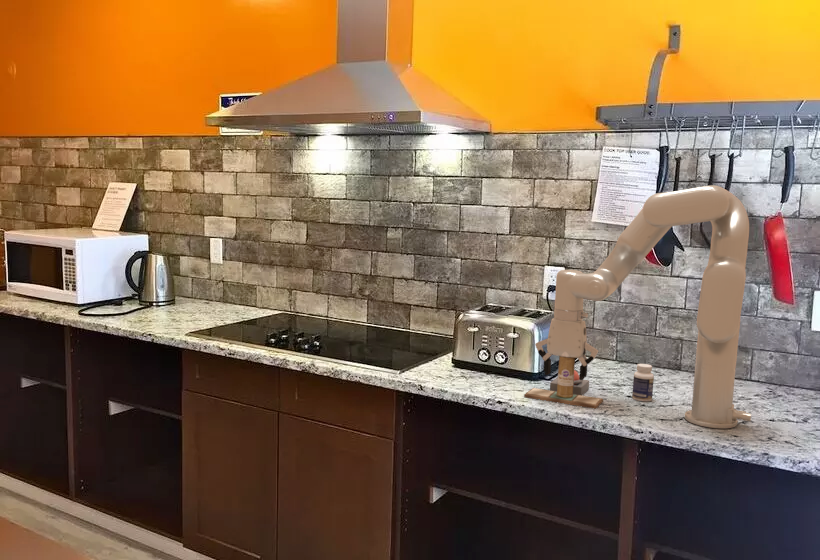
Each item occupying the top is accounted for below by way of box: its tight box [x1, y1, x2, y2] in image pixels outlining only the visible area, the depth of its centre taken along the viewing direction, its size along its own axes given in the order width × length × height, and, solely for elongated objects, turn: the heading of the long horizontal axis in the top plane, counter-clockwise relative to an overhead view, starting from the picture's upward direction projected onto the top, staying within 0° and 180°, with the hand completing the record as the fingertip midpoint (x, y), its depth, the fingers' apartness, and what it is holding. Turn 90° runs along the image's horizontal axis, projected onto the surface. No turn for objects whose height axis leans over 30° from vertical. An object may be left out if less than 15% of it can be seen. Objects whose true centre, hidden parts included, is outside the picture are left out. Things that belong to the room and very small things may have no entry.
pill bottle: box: [631, 363, 655, 403], centre depth 211 cm, size 5×5×10 cm
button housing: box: [549, 376, 590, 396], centre depth 218 cm, size 9×9×3 cm
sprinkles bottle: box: [557, 352, 576, 398], centre depth 208 cm, size 5×5×13 cm
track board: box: [523, 387, 604, 410], centre depth 209 cm, size 20×8×1 cm, turn 63°
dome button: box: [573, 369, 582, 385], centre depth 218 cm, size 7×7×6 cm
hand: (564, 376), depth 208 cm, fingers open, 9 cm apart
